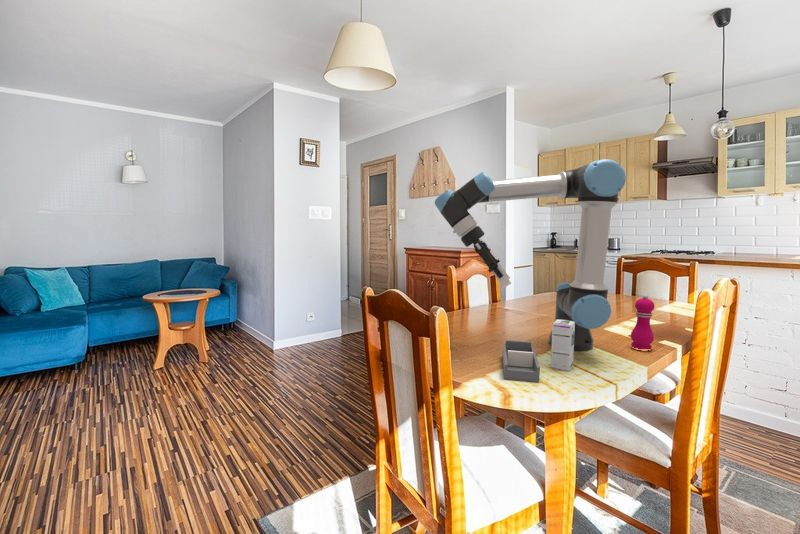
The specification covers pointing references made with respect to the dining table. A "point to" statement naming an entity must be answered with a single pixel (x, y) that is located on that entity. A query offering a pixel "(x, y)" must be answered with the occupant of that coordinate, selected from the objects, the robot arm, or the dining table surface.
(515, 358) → the block
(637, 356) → the dining table surface
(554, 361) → the syrup box
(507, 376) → the grey card holder
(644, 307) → the pepper mill
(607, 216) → the robot arm
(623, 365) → the dining table surface
